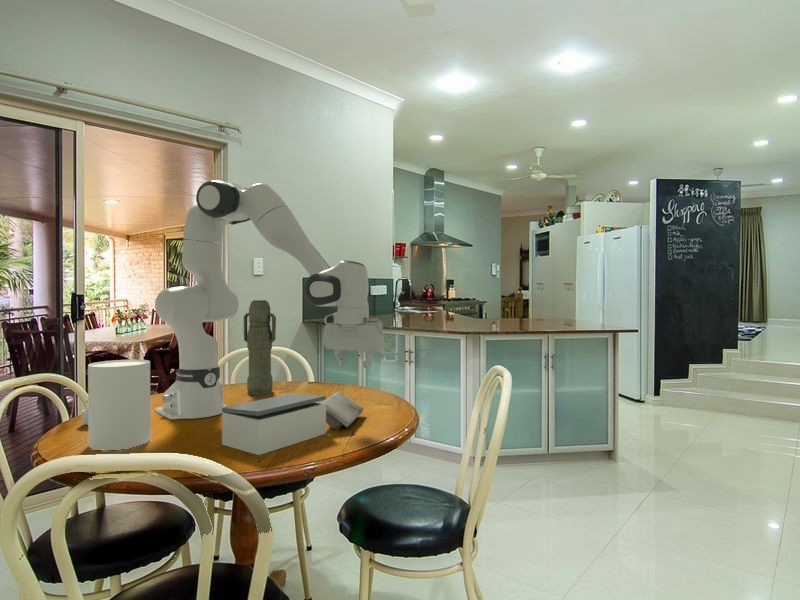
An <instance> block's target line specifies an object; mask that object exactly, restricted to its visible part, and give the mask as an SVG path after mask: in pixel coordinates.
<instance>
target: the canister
mask: <svg viewBox="0 0 800 600" xmlns="http://www.w3.org/2000/svg"><path fill="white" fill-rule="evenodd" d="M87 384H88V385H87V395H88V396H87V398H88V399H87V400H88V401H87V404H88V406H87V407H88V408H87V409H88V435H87V436H88V448H89V447H90V448H92V449H103V450H118V451H121V450H120V449H125V450H129V448H131V449H133V448H132V447H135V448H137V447H136V446H138V447H140V446H139V445H141V446H143V445H142V444H144V445H145V443H146V444H147V443H149V442H150V441H151V437H152V436H151V435H152V433H151V361H150V360H148V359H147V360H146V359H119V360H118V359H115V360H104V361H98V362H92V363H91V362H90V363H88V365H87ZM148 441H149V442H148Z"/></svg>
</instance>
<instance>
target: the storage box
mask: <svg viewBox="0 0 800 600" xmlns="http://www.w3.org/2000/svg"><path fill="white" fill-rule="evenodd" d="M326 434H327V423H326V404H324V403H321V402H320V401H318V402H314V403H310V404H306V405H301V406H297V407H293V408H289V409H285V410H281V411H276V412H272V413H268V414H264V415H260V416H255V415H246V414H237V413H228V412H222V413H221V445H222V446H225V447H226V446H227V447H228V448H233V449H236V450H240V451H243V452H246V453H249V454H253V455H257V456H261V455H264V454H268V453H270V452H273V451H276V450H279V449H282V448H285V447H289V446H293V445H295V444H298V443H301V442H305V441H308V440H310V439H314V438H316V437H320V436H322V435H326Z"/></svg>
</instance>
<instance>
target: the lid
mask: <svg viewBox="0 0 800 600" xmlns="http://www.w3.org/2000/svg"><path fill="white" fill-rule="evenodd" d="M326 399H327V396H326V395H316V394H303V393H301V394H300V393H287V394H283V395H277V396H272V397H267V398H262V399H257V400H253V401H248V402H244V403H239V404H232V405H230V406H227V407H223V408H222V412H228V413H237V414H246V415H255V416H260V415H264V414H268V413H272V412H276V411H281V410H285V409H289V408H293V407H297V406H301V405H306V404H310V403H314V402H323V401H324V400H326Z"/></svg>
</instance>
